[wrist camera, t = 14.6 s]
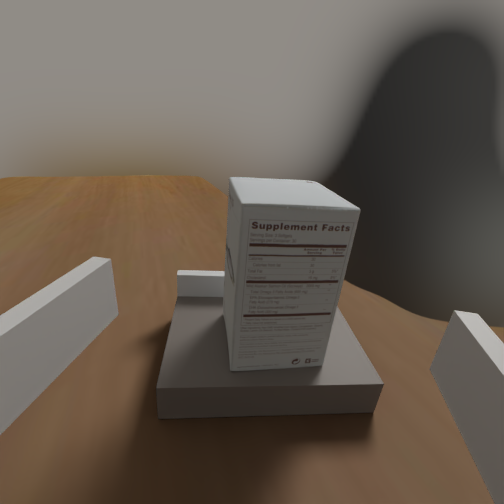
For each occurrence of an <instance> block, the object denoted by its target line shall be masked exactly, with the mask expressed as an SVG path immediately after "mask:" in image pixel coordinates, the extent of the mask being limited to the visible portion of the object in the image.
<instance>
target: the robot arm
mask: <svg viewBox="0 0 504 504" xmlns="http://www.w3.org/2000/svg"><path fill="white" fill-rule="evenodd" d="M117 316H118V307H117V300H116V293H115V286H114V278H113V271H112V264H111V259H107V258H100V257H92V258H91V259H89V260H87V261H86V262H84V263H83V264H81V265H80V266H78V267H76V268H75V269H73V270H72V271H70V272H69V273H67V274H65V275H64V276H62V277H61V278H59V279H57V280H56V281H54V282H53V283H51V284H50V285H48V286H46V287H45V288H43V289H42V290H40V291H38V292H37V293H35V294H34V295H32V296H31V297H29V298H27V299H26V300H24V301H23V302H21V303H19V304H18V305H16V306H15V307H13V308H12V309H10V310H8V311H7V312H5V313H4V314H2V315H0V435H1V434H2V433H3V432H4V431H5V430H6V429H7V428H8V427H9V426H10V424H11V423H12V422H13V421H14V420H15V419H16V418H17V417H18V416H19V415H20V414H21V413H22V412H23V411H24V410H25V409H26V408H27V407H28V406H29V405H30V404H31V403H32V402H33V401H34V400H35V399H36V398H37V397H38V396H39V395H40V394H41V393H42V392H43V391H44V390H45V389H46V388H47V387H48V386H49V385H50V384H51V383H52V382H53V381H54V380H55V379H56V378H57V377H58V376H59V375H60V374H61V373H62V372H63V371H64V370H65V369H66V367H67V366H68V365H69V364H70V363H71V362H72V361H73V360H74V359H75V358H76V357H77V356H78V355H79V354H80V353H81V352H82V351H83V350H84V349H85V348H86V347H87V346H88V345H89V344H90V343H91V342H92V341H93V340H94V339H95V338H96V337H97V336H98V335H99V334H100V333H101V332H102V331H103V330H104V329H105V328H106V327H107V326H108V325H109V324H110V323H111V322H112V321H113V320H114V319H115V318H116V317H117ZM430 371H431V373H432V375H433V377H434V379H435V381H436V383H437V385H438V387H439V389H440V391H441V394H442V396H443V398H444V400H445V402H446V404H447V406H448V408H449V410H450V412H451V414H452V416H453V418H454V420H455V422H456V425H457V427H458V429H459V431H460V433H461V435H462V437H463V439H464V441H465V443H466V445H467V447H468V449H469V451H470V454H471V456H472V458H473V460H474V462H475V464H476V466H477V468H478V470H479V472H480V474H481V476H482V478H483V480H484V483H485V485H486V487H487V489H488V491H489V493H490V495H491V497H492V499H493V501H494V503H495V504H504V344H503V342H502V341H501V340H500V339H499V338H498V337H497V336H496V334H495V333H494V332H493V331H492V330H491V329H490V328H489V326H488V325H487V324H486V323H485V322H484V321H483V319H482V318H481V317H480V316H479V315H478V314H475V313H468V312H462V311H455V310H454V312H453V314H452V317H451V319H450V321H449V324H448V326H447V329H446V331H445V333H444V336H443V338H442V340H441V343H440V345H439V348H438V350H437V352H436V355H435V357H434V360H433V362H432V364H431V367H430Z"/></svg>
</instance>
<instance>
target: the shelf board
mask: <svg viewBox="0 0 504 504" xmlns="http://www.w3.org/2000/svg"><path fill="white" fill-rule="evenodd" d="M224 275H225V271H193V270H178V273H177V292H178V297H177V301H176V305H175V309H174V314H173V318H172V322H171V326H170V331H169V335H168V339H167V343H166V348H165V352H164V356H163V360H162V365H161V369H160V373H159V377H158V382H157V386H156V396H157V411H158V419H177V418H210V417H242V416H275V415H308V414H340V413H373V412H374V410H375V407H376V404H377V402H378V399H379V396H380V393H381V391H382V388H383V385H384V383H383V382H382V380H381V378H380V377H379V375H378V373H377V372H376V370H375V368H374V367H373V365H372V363H371V362H370V360H369V358H368V357H367V355H366V353H365V352H364V350H363V349H362V347H361V345H360V344H359V342H358V340H357V339H356V337H355V335H354V334H353V332H352V330H351V329H350V327H349V325H348V324H347V322H346V320H345V319H344V317H343V315H342V314H341V312H340V310H339V309H338V307H337V309H336V313H335V317H334V321H333V325H332V329H331V333H330V338H329V342H328V346H327V350H326V354H325V358H324V363H323V365H321V366H314V367H300V368H284V369H268V370H251V371H231V370H230V361H229V350H228V341H227V332H226V326H225V320H224V315H223V295H224Z"/></svg>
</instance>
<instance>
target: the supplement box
mask: <svg viewBox="0 0 504 504" xmlns="http://www.w3.org/2000/svg"><path fill="white" fill-rule="evenodd" d="M359 213H360V209H359V208H358V207H356V206H355V205H353V204H351V203H350V202H348V201H346V200H345V199H343V198H341V197H340V196H338V195H337V194H335V193H334V192H332V191H330V190H328V189H327V188H325V187H324V186H322V185H321V184H319V183H318V182H314V181H306V180H289V179H265V178H245V177H231V178H229V198H228V218H227V238H226V256H225V275H224V295H223V315H224V320H225V326H226V332H227V341H228V350H229V361H230V370H231V371H251V370H268V369H284V368H300V367H314V366H321V365H323V363H324V358H325V354H326V350H327V346H328V342H329V338H330V333H331V329H332V325H333V321H334V317H335V313H336V309H337V304H338V300H339V296H340V293H341V288H342V284H343V280H344V276H345V272H346V267H347V263H348V259H349V256H350V252H351V248H352V243H353V239H354V235H355V231H356V227H357V223H358V218H359Z"/></svg>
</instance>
